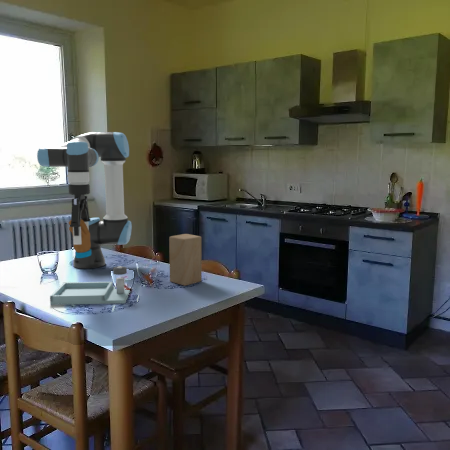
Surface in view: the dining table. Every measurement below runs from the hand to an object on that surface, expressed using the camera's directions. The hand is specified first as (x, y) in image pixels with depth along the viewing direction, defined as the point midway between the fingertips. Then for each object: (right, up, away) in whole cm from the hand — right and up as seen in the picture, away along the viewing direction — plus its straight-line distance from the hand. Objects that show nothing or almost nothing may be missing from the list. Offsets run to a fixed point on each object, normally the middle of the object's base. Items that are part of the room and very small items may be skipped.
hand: (81, 241), depth 172 cm
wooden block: (+37, -19, +25) cm, 49 cm away
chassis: (+3, -22, +4) cm, 22 cm away
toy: (0, -6, +1) cm, 6 cm away
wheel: (+14, -12, +3) cm, 19 cm away
